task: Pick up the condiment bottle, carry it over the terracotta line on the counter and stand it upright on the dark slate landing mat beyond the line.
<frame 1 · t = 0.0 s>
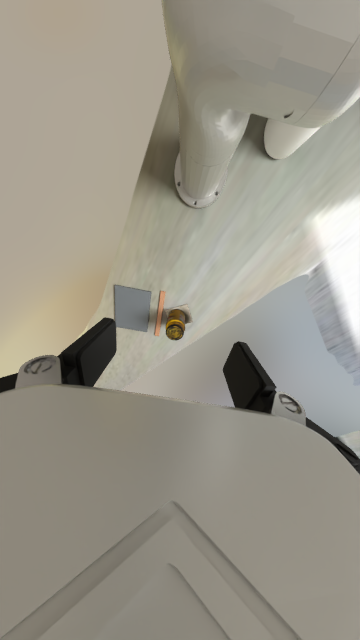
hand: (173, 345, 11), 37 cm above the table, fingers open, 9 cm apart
landing mat: (132, 309, 49), on the table
alcohol: (282, 134, 30), on the table
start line: (159, 315, 50), on the table
condiment: (179, 315, 50), on the table
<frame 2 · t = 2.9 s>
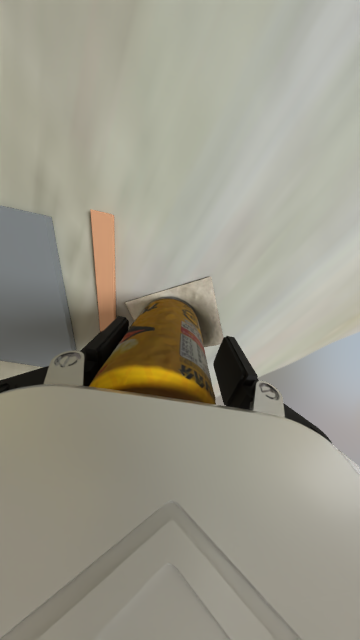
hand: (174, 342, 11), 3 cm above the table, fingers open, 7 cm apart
landing mat: (6, 300, 13), on the table
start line: (108, 319, 14), on the table
condiment: (177, 322, 14), on the table, touching gripper
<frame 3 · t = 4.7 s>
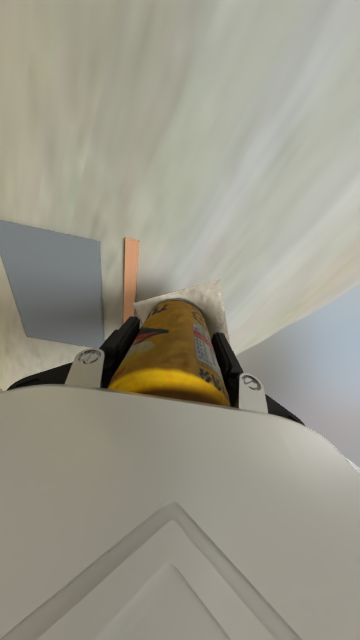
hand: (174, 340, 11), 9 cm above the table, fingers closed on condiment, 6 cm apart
landing mat: (60, 295, 20), on the table
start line: (129, 308, 20), on the table
condiment: (184, 323, 14), point 6 cm above the table, touching gripper
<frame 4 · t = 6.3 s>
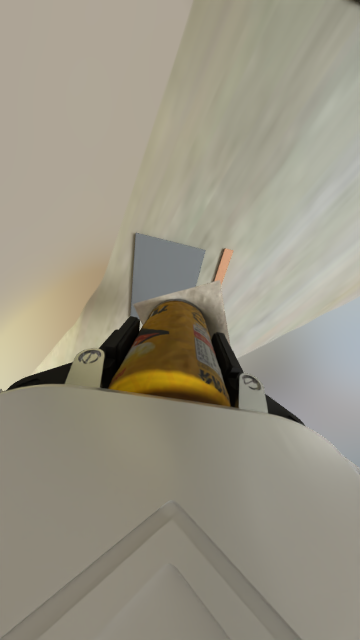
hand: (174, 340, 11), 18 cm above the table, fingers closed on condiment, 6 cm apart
landing mat: (164, 287, 27), on the table
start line: (212, 298, 28), on the table
condiment: (184, 323, 14), point 14 cm above the table, touching gripper
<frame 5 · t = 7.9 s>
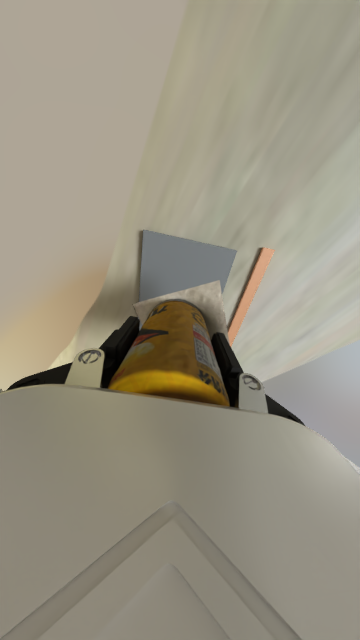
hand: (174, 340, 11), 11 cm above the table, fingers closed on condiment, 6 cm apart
landing mat: (179, 299, 21), on the table
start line: (240, 311, 22), on the table
condiment: (184, 324, 14), point 7 cm above the table, touching gripper
when the fingers open (5 cm above the table, at t = 9.4 s): condiment drops 1 cm, resting on landing mat.
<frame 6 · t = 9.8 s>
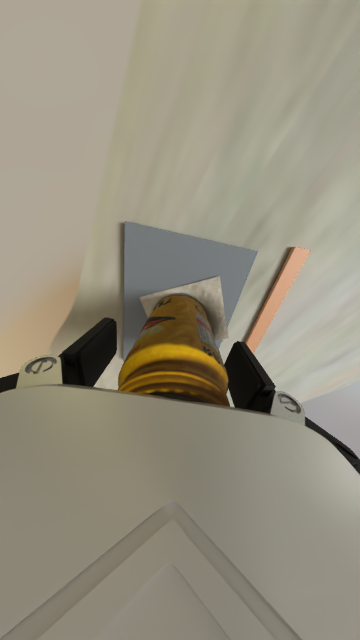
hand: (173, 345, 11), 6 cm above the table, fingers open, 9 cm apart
landing mat: (177, 315, 16), on the table
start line: (257, 330, 17), on the table
condiment: (186, 317, 16), resting on landing mat
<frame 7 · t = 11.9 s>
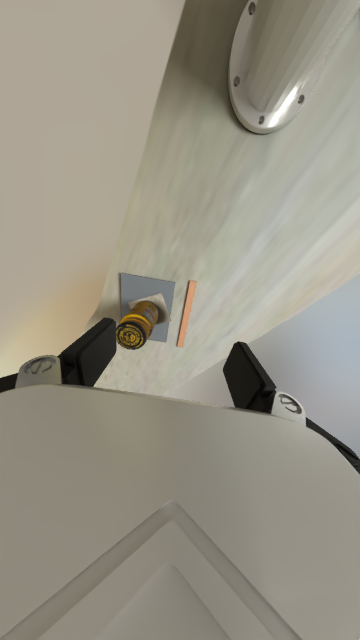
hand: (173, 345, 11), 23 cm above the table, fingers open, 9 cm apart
landing mat: (146, 310, 34), on the table
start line: (185, 317, 34), on the table
condiment: (150, 311, 33), resting on landing mat
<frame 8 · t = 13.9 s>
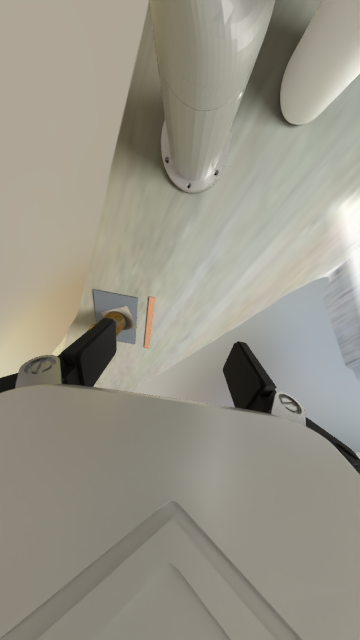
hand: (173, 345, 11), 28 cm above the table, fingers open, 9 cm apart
landing mat: (116, 318, 42), on the table
alcohol: (304, 89, 22), on the table
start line: (149, 324, 42), on the table
condiment: (119, 319, 41), resting on landing mat
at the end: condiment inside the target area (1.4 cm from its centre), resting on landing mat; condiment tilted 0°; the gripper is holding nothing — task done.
